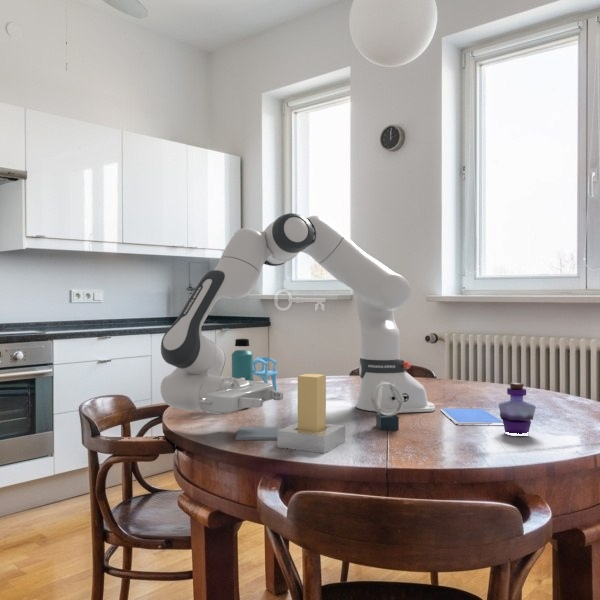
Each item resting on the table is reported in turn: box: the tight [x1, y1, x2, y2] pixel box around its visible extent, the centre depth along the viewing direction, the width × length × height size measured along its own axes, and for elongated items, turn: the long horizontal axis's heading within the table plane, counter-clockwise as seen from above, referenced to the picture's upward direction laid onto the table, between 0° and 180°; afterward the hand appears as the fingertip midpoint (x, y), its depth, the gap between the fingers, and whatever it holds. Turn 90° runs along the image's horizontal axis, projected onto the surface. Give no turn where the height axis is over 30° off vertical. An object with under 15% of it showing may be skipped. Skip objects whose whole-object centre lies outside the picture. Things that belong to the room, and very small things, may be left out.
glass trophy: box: [371, 382, 404, 432], centre depth 141 cm, size 6×8×11 cm
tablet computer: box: [439, 408, 503, 425], centre depth 154 cm, size 19×13×1 cm, turn 179°
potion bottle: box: [498, 382, 536, 434], centre depth 135 cm, size 9×9×12 cm
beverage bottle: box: [231, 338, 254, 381], centre depth 167 cm, size 6×7×20 cm
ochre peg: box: [297, 373, 327, 433], centre depth 125 cm, size 5×5×15 cm
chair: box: [253, 356, 279, 392], centre depth 193 cm, size 8×8×12 cm
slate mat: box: [235, 426, 282, 441], centre depth 134 cm, size 10×10×1 cm
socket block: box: [276, 421, 346, 454], centre depth 125 cm, size 11×11×4 cm
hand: (271, 399), depth 130 cm, fingers open, 8 cm apart
